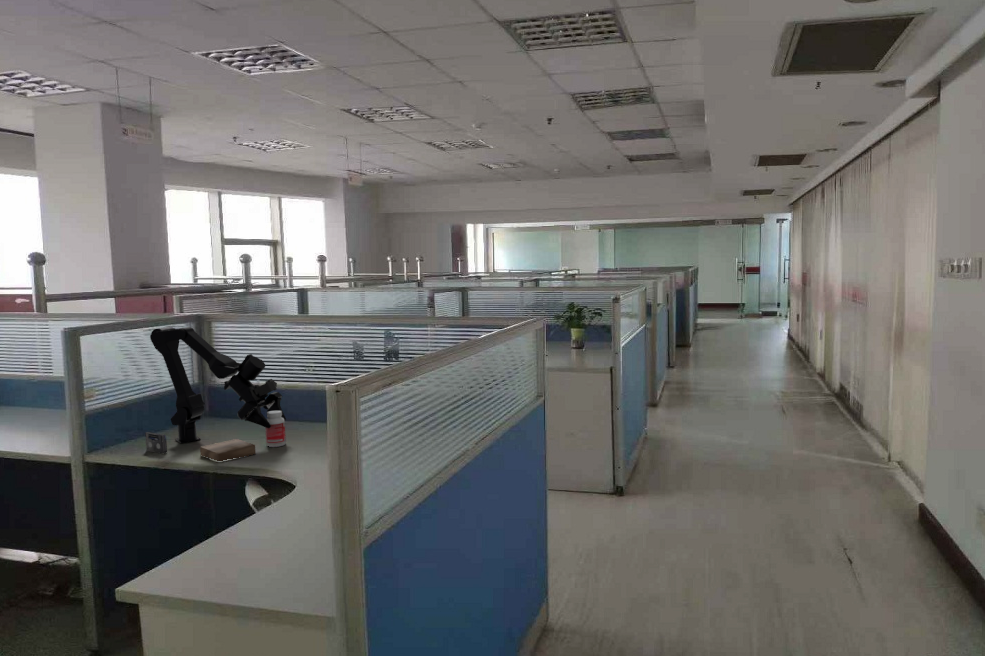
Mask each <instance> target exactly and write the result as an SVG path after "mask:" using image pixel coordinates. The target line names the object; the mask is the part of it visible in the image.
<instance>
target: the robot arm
mask: <svg viewBox="0 0 985 656" xmlns="http://www.w3.org/2000/svg"><path fill="white" fill-rule="evenodd" d="M149 339H150V341H151V344H152V345H153V347H154V348H155V350H156V351H157V352H158V353H160V354H161V356H162V357H163V360H164V362H165V363H164V364H165V366H166V368H167V371H168V373H169V377H170V379H171V382H172V385H173V388H174V390H175V394H176V402H175V409H176V412H175V413H174V415H173V416H172V417H171V418H170V422H171V424H172V426H177V434H178V437H177V438H176V437H175V439H174V440H175V441H176V442H178V443H179V444H185V443H191V441H192V442H196V440H197V441H201V439H202V438H201V437H198V436H197V424H196V423H197V421H200V420H201V418H202V415H203V413H204V411H205V405H206V404H205V402H204V400H203V398H202V394H201V393H195V392H194V391H193V388H192V386H191V384H190V380H189V378H188V375H187V372H186V369H185V367H184V364H183V361H182V359H181V355H180V353H179V346H180V345H179V344H180V341H182V342H184V344H185V345H187V346H188V347H189V348H190V349H192V351H193V352H194V353H196V354H197V355H198V356H199V357H200V358H202V359H203V361H205V362H206V363H207V365H208V369H209V370H210V371H211V373H212V374H213V375H214V377H216V378H217V379H220V380H222V379H227V378H229V379H228V380H226V381H224V383H223V384H224V386H223V390H225V391H227V390H230V389H232V390H233V392H235V393H236V395H237V396H238V397H239V398H238V400H239V402H244V404H243V405H242V407H240V408H239V410H238V411H237V412H236V413H237V418H239V420H240V421H243V420H244V421H245V422H250V423H254V424H256V425H259V426H261V427H264V428H265V427H266V428H270V427H271V425H270V423H269V422H268V421H267V419H268V418H266V417H265V416H264V414H263V413H262V409H261V408H263V409H264V410H266V413H267V412H269V411H282V416H281V417H282V418H284V420H285V421H286V420H287V418H286V415H285V413H284V411H283V409H282V405H281V401H282V397H283V395H282V393H280V392H279V391H277V385H278V382H276V381H275V380H273V379H272V378H270V379H268V380H266V381H265V383H263V384H262V385H259V384H255V385H254V384H253V383H252V382H251V381H254V380H256V379H257V378H258V377H259V375H260V374H261V373H262V372H263V370H264V369H266V363H265V362H264V361H263V359H260V358H258V357H257V356H254V355H253V354H252V353H250V354H247V355H246V356H245V357H244V359H243V361H241V362H237V361H236V360H235V359H233V358H231V357H230V356H228V355H226V354H223V353H221V352H219V351H217V350H216V349H215V348H214V347H213V346H212V345H211V344H209V343H208V341H206V340H205V339H204V338H203V337H201V335H199V334H198V333H197V332H196V331H195V329H194V327H190V326H186V327H178V328H174V327H172V326H164V327H158V328H154V329H153V330H152V331H151V333H150V335H149Z"/></svg>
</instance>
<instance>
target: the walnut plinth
mask: <svg viewBox="0 0 985 656" xmlns="http://www.w3.org/2000/svg"><path fill="white" fill-rule="evenodd" d="M199 450H200V456H201V455H202V456H205V457H208V458H211V459H214V460H217V461H223V460H227V459H233V458H239V457H243V458H245V457H244V456H247V457H250V456H249V455H251V456H254V455H253V454H255V455H256V453H257V452H256V444H253V443H251V442H248V441H244V440H242V439H238V438H234V439H230V440H225V441H219V442H216V443H211V444H206V445H201V446H199ZM202 456H201V457H202ZM239 459H240V458H239Z"/></svg>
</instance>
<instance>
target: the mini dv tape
mask: <svg viewBox="0 0 985 656" xmlns="http://www.w3.org/2000/svg"><path fill="white" fill-rule="evenodd" d="M144 437H145V446H146V448H145V449H146V451H147V452H151V453H156V454H161V453H164V454H167V453H168V444H167V436H166V434H163V433H162V434H161V433H157V432H156V433H155V432H149V431H148V432H145V436H144ZM166 452H167V453H166Z"/></svg>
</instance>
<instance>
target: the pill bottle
mask: <svg viewBox="0 0 985 656" xmlns="http://www.w3.org/2000/svg"><path fill="white" fill-rule="evenodd" d="M282 411H283V410H282ZM282 411H269V412H267V411H266V417H267V418H266V419H267V421H268V422H269V423H270V425H271V427H270V428H266V427H264V428H265V443H266V446H267V447H268V446H269V447H268V448H278V447H282V446H285V445H286V444H287V443H286V442H287V440H286V439H287V438H286V437H287V436H286V435H287V434H286V423H285V422H286V420H284V418H282V417H281V416H282Z"/></svg>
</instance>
